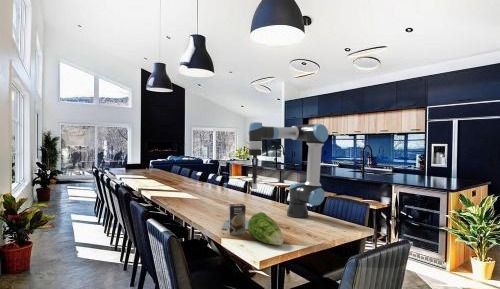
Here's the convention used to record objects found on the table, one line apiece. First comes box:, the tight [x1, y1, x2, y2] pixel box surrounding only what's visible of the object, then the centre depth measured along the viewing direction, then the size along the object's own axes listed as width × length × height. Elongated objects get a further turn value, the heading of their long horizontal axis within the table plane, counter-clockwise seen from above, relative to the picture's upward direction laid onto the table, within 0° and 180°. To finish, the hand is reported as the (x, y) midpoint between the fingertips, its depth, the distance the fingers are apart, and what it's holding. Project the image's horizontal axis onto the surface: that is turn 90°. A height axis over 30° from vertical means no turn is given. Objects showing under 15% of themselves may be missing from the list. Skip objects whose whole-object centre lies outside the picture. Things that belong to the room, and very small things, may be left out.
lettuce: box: [248, 211, 284, 246], centre depth 157 cm, size 14×23×13 cm, turn 34°
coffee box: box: [227, 203, 247, 236], centre depth 171 cm, size 9×6×16 cm
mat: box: [221, 219, 249, 232], centre depth 185 cm, size 18×18×1 cm
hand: (254, 188), depth 176 cm, fingers closed
